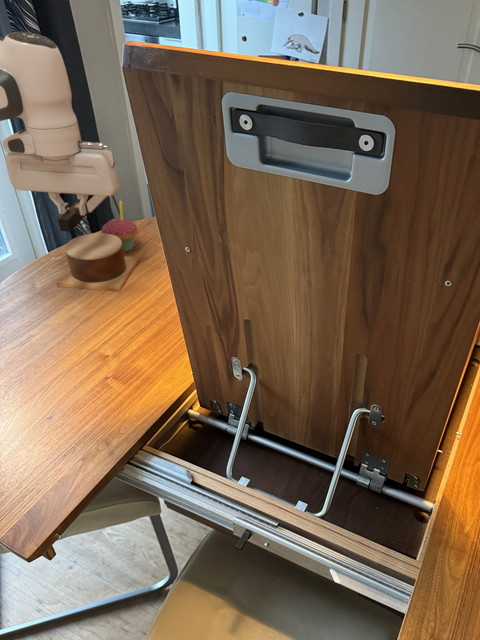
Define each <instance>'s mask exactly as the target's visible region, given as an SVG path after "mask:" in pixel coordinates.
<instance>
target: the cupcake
mask: <svg viewBox="0 0 480 640" xmlns="http://www.w3.org/2000/svg"><path fill="white" fill-rule="evenodd" d="M119 198H120V200H119V201H118V203H119V218H118V217H116V218H112V219H109V220H108V221H107V222H105V223H104V224H103V225H102V226H101V233H105V234H111V235H115V236H117V237H118V238H120V239H121V241H122V246H123V251H124V253H126V252H128V251H131V250H132V249H133V248H134V241H135V238H136V236H138V233H139V229H138V225H137V224H136V223H135V222H134V221H132V220H131V219H128V218H125V217H124V208H123V200H122V197H119Z"/></svg>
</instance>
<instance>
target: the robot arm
mask: <svg viewBox="0 0 480 640" xmlns="http://www.w3.org/2000/svg"><path fill="white" fill-rule="evenodd" d="M72 99H73V94H72V89H71V84H70V81H69V76H68V72H67V68H66V65H65V62H64V59H63V56H62V53H61V51H60V49H59V47H58V46H57V44H56V43H55V42H54V41H53V40H52V39H50V38H49V37H46V36H44V35H41V34H37V33H34V32H33V33H32V32H28V31H26V32H23V31H13V32H9V33H8V34H6V36H5V37H2V36H0V122H2V121H7V120H11V119H15V118H19V119H21V120H22V121H23V123H24V127H25V128H24V129H22V130H20V131H16V132H15V133H12V134H11V135H9V136H8V137H6V138H5V139H4V140H3V141H2V142H1V143H2V147H3V149H4V151H5V152H6V153H7V154H6V155H5V165H6V170H7V175H8V178H9V181H10V183H11V185H12V187H14V188H15V190H17V191H25V192H26V191H27V192H41V193H48V197H49V199H50V200H51V201H52V202H53V203H54V205H55V206H56V207H57V209H58V214H59V215H63V214H64V213H65V212H66V211H67V210H68V209H69V208H70V205H69V202H65V201H64V200H63V198H62V197H61V195H60V194H71V195H76V198H77V200H79V202H80V203H79V204H77V206H75V207H74V209H75V211H76V212H75V213H76V215H82V216H84V215H85V214H86V207H85V204H86V203H87V202H88V198H89V196H94V195H100V196H107V197H113V196H114V195H115V194H116V193H117V192H118V191H119V190H120V188H121V187H120V186H121V184H120V179H119V175H118V173H117V168H116V165H115V164H116V162H115V161H116V159H115V155H114V154H115V153H114V151H113V150H112V149H111V148H110V147H109V146H108V145H106V144H105V143H103V142H100V141H99V142H97V141H96V142H91V141H82V136H81V132H80V131H81V130H80V127H79V123H78V118H77V115H76V113H75V112H74V108H73V104H72Z"/></svg>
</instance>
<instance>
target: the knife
mask: <svg viewBox="0 0 480 640" xmlns="http://www.w3.org/2000/svg"><path fill="white" fill-rule="evenodd" d="M107 197H108V196H100V195H92V197H91V198H90V199H89V200H87V201H86V204H85V207H86V214H85V215H84V216H82V215H76V213H75V212H76V211H75V209H74V207H75V206H77V204H79V203H80V201H76V202H74V204H73V205H71V206H69V209H68V210H67V211H66V212H65V213H64V214H61V216H59V217H58V218H57V223H58V227H59V230H60V232H67V233H68V232H69V233H71V232H72V231H73V230H74V229H75V228H76V227H78V225H79V224H80V223H81V222H82V221H83V220H84V219H85V218H86V217H87V216H88V215H89V213H92V212H93V211H94V210H95V209H96V208H97V207H98V206H99V205H100V204H101V203H102V202H103V201H105V199H106V198H107Z"/></svg>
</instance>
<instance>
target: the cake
mask: <svg viewBox="0 0 480 640" xmlns="http://www.w3.org/2000/svg"><path fill="white" fill-rule="evenodd" d="M64 252H65V255H66V258H67V262H68V268H67V269H66V271H65V272H64V273H63V274H62V275H61V276H60V278H58V279H57V281H56V282H55V284H56V287H58V288H70V289H71V288H72V289H83V290H84V289H86V290H98V291H110V292H111V291H112V292H120V291H121V290H122V288H123V287H124V285H125V284H126V283H127V281H128V279H129V277H130V276H131V275H132V274H133V271H134V270H135V269H136V267H137V266H138V264H139V262H140V257H138V256H127V255H125V252H124V251H123V246H122V241H121V239H120V238H118V237H117V236H115V235H111V234H105V233H102V232H95V233H86V234H82V235H80V236H77V237H74V238H72V239H71V240H69V241H68V242H67V243H66V244H65V245H64Z"/></svg>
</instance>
